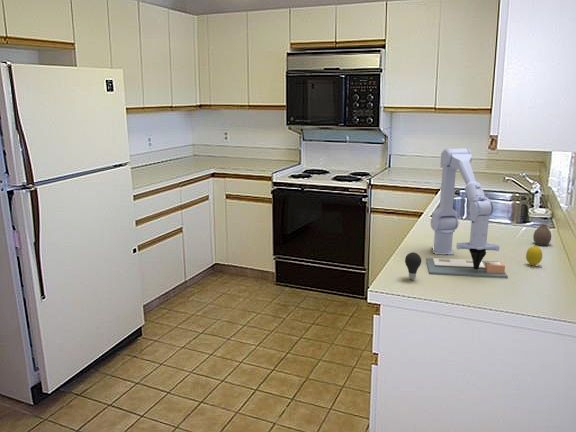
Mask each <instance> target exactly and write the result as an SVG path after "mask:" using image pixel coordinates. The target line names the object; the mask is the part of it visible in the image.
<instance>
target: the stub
mask: <svg viewBox="0 0 576 432" xmlns="http://www.w3.org/2000/svg"><path fill="white" fill-rule="evenodd" d="M484 261H485V271H486V272H487V273H498V274H504V272H505V273H506V271H505V269H506V265H505V264H504V262H502V261H497V262H487V261H488V260H484Z"/></svg>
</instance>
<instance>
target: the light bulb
mask: <svg viewBox="0 0 576 432" xmlns="http://www.w3.org/2000/svg"><path fill="white" fill-rule="evenodd" d="M404 263H405V266H406V267H407V270H408V279H410V280H411V279H414V280H416V278H417V273H418V270H419V268H420V266H421V264H422V257H421V256H420V254H418V253H417V252H409V253H407V255H406V256H405V258H404Z"/></svg>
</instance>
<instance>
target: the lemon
mask: <svg viewBox="0 0 576 432" xmlns="http://www.w3.org/2000/svg"><path fill="white" fill-rule="evenodd" d="M525 254H526V255H525V259H526V261H527V262H528V263H529V264H530V265H531V266H532V267H533V266H534V267H535V266H536V265H538V264H540V263H541V262H542V259H543V250H542V249H541V248H540V247H538V246H537V245H534V246H530V247H529V248H527V251H526V253H525Z"/></svg>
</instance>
